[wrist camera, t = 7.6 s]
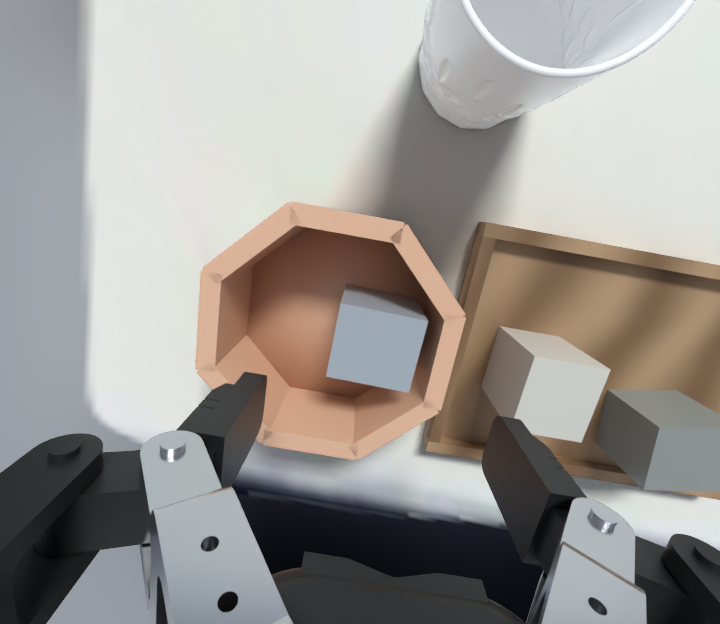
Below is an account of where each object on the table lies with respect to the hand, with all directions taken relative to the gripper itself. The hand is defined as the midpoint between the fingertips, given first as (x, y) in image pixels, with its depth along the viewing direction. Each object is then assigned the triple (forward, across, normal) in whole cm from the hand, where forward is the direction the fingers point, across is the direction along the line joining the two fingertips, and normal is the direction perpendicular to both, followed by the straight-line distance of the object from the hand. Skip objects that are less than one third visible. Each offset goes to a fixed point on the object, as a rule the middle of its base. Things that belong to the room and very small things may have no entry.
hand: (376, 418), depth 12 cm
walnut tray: (+12, -16, 0) cm, 20 cm away
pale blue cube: (+11, 0, 0) cm, 11 cm away
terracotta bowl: (+12, +2, 0) cm, 12 cm away
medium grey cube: (+11, -19, +3) cm, 22 cm away
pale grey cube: (+11, -10, +1) cm, 15 cm away
